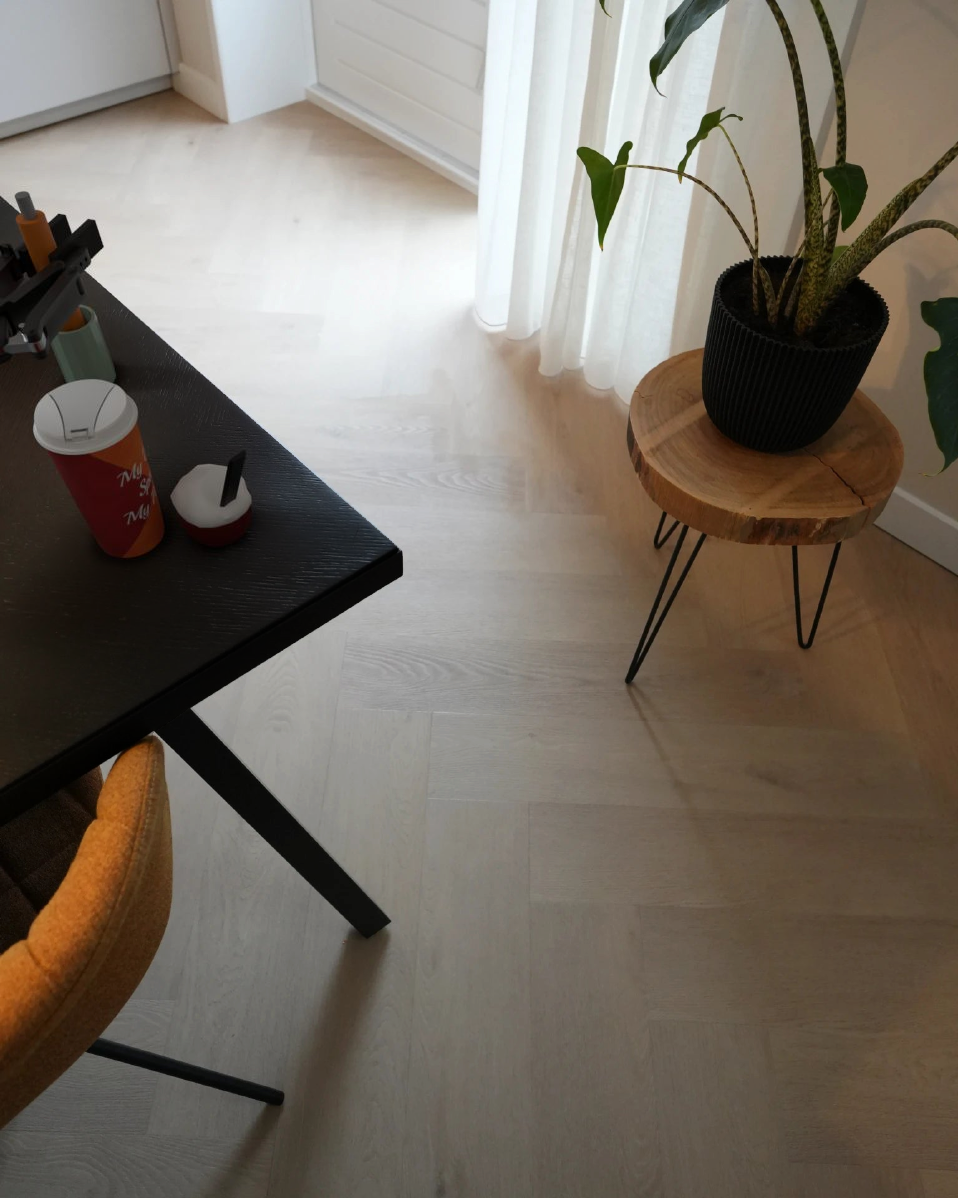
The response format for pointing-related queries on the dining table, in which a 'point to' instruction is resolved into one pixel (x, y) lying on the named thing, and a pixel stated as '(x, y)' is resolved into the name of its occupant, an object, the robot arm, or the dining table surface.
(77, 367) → the pencil cup
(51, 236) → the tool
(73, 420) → the paper cup
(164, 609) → the dining table surface
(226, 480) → the cocoa
